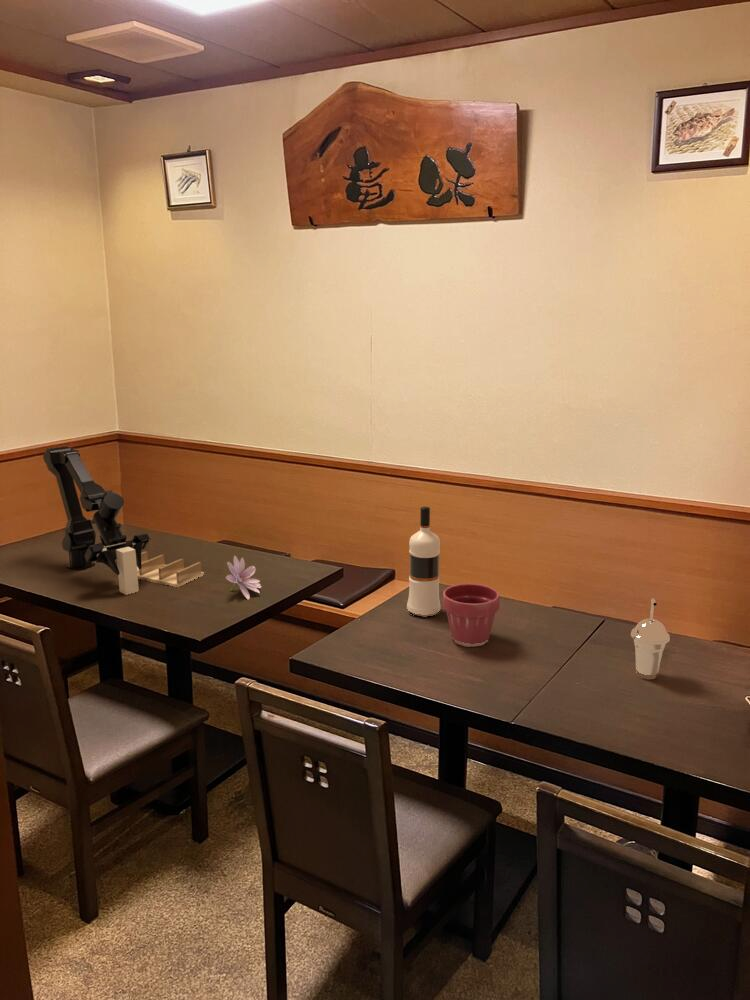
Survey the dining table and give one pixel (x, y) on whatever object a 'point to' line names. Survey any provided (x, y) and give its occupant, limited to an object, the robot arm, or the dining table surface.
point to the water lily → (242, 577)
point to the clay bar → (127, 570)
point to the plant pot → (470, 611)
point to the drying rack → (167, 571)
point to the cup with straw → (649, 643)
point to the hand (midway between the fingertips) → (129, 571)
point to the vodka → (424, 569)
